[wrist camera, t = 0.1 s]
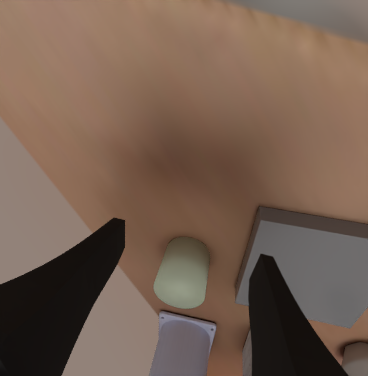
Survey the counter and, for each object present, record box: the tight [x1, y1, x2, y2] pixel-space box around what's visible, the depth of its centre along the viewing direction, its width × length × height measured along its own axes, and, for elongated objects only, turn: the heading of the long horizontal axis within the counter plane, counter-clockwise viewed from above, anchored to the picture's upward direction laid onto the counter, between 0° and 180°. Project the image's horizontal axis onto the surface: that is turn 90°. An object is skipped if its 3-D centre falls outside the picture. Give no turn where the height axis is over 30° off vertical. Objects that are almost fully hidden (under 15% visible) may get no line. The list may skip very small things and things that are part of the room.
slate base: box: [235, 206, 368, 328], centre depth 24 cm, size 12×12×2 cm
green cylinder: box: [153, 237, 210, 309], centre depth 25 cm, size 5×5×5 cm
